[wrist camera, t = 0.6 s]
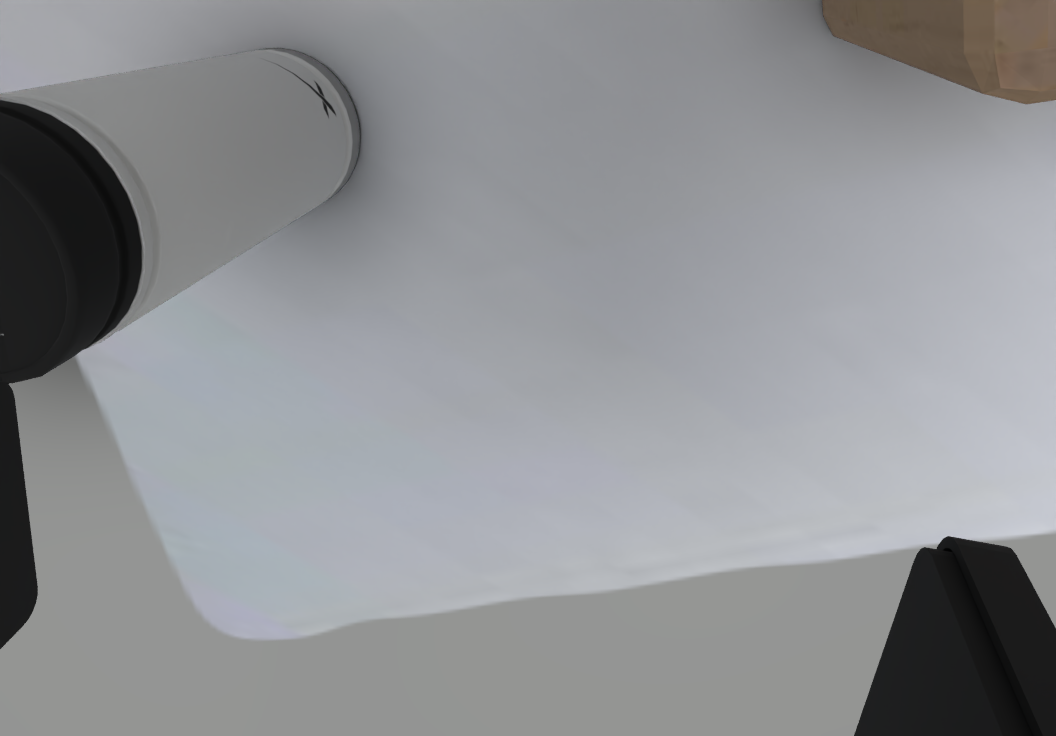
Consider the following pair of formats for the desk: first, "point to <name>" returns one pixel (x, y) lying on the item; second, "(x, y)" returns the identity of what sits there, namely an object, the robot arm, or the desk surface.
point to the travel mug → (153, 188)
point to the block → (960, 40)
